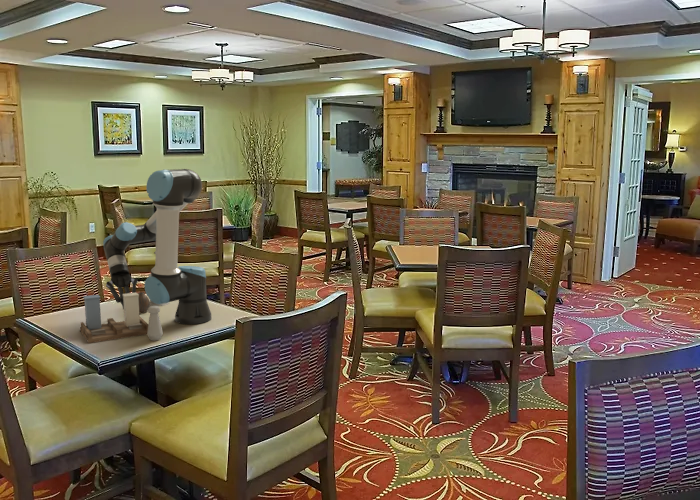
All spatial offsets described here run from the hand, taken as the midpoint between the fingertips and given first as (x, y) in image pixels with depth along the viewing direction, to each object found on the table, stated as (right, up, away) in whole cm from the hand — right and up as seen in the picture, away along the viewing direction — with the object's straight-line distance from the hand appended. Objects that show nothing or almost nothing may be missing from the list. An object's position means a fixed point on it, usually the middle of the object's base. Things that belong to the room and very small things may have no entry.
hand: (129, 315), depth 256 cm
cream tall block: (+2, -4, -2) cm, 5 cm away
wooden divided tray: (-4, -6, -6) cm, 10 cm away
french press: (-1, +1, +39) cm, 39 cm away
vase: (-3, -1, +24) cm, 24 cm away
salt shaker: (+15, -8, -14) cm, 22 cm away
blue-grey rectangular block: (-12, -4, -6) cm, 14 cm away
